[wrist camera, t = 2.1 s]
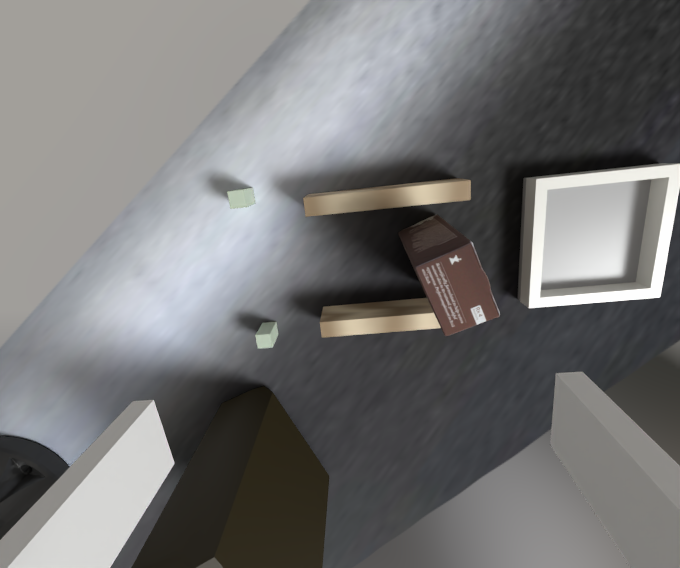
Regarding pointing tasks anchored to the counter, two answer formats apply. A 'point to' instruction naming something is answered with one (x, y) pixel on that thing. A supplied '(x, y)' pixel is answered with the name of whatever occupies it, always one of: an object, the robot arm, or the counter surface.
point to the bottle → (245, 495)
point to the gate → (269, 329)
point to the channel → (387, 312)
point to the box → (449, 274)
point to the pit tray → (596, 235)
